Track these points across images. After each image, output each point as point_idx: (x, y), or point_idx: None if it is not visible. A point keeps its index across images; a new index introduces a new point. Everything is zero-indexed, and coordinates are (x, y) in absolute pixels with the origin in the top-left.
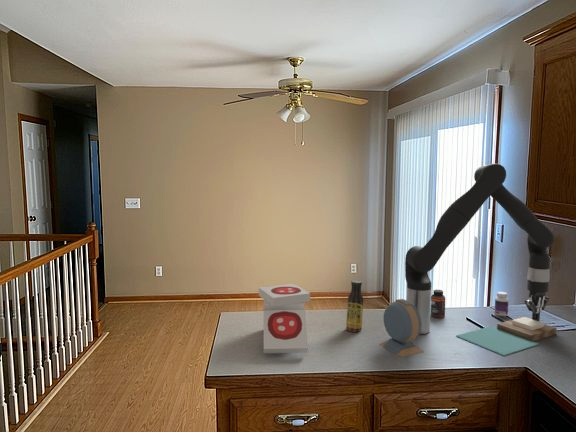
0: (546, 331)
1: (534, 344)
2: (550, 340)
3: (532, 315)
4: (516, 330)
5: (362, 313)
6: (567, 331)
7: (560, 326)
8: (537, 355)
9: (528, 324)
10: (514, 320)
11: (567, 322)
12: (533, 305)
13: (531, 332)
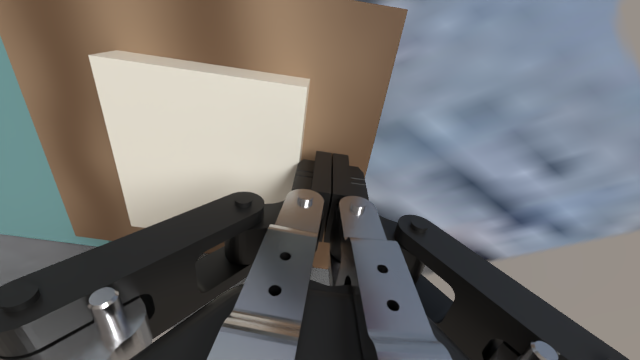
0: None
1: (79, 239)
2: None
3: (293, 182)
4: (43, 144)
5: None
6: None
7: (505, 216)
8: (10, 276)
9: (143, 197)
10: (103, 77)
11: (628, 216)
12: (159, 325)
13: (117, 219)
